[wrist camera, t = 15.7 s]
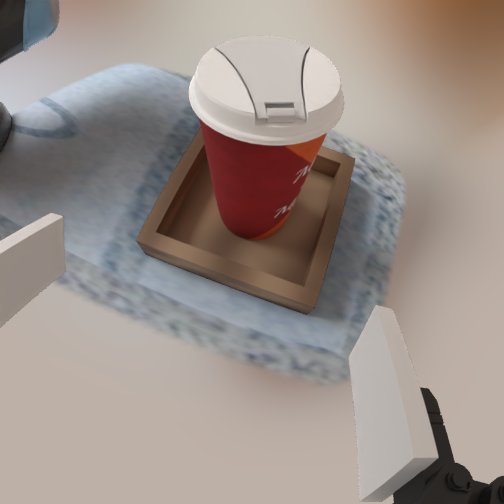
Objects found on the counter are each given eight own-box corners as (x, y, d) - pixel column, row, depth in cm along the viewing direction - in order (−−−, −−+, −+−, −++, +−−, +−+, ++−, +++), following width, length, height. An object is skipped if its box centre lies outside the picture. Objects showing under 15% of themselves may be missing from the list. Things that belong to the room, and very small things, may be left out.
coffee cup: (308, 248, 27) (373, 125, 13) (209, 257, 26) (184, 130, 12) (291, 166, 30) (324, 31, 16) (203, 172, 29) (187, 32, 15)
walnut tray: (145, 253, 27) (135, 240, 24) (211, 132, 32) (210, 112, 29) (306, 314, 26) (314, 307, 23) (346, 176, 31) (355, 158, 28)
